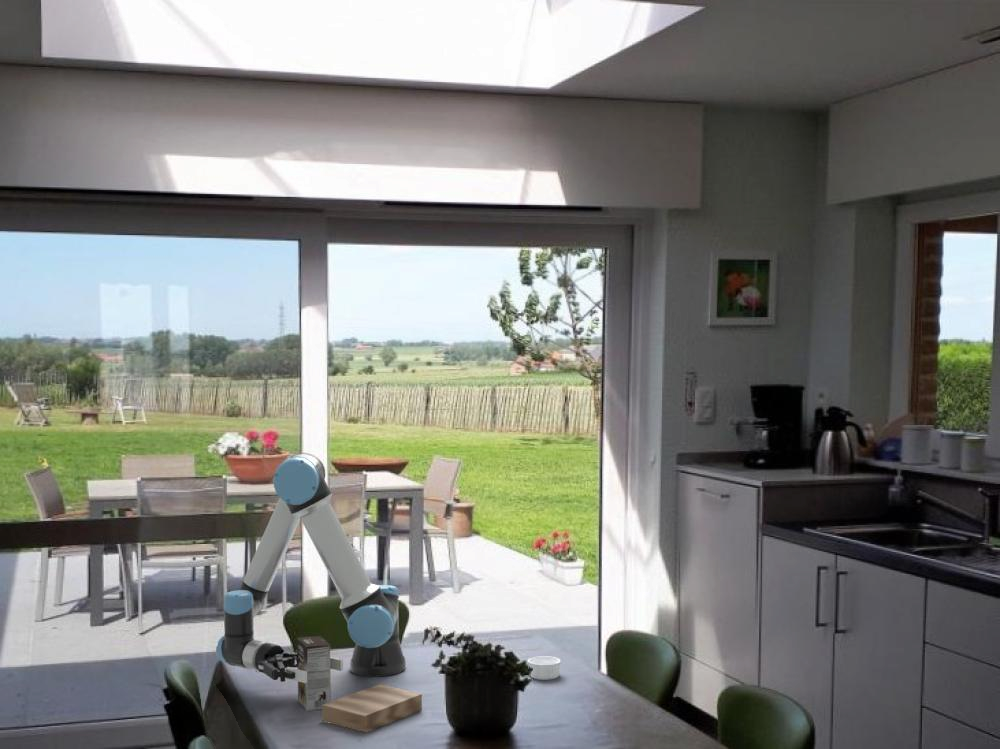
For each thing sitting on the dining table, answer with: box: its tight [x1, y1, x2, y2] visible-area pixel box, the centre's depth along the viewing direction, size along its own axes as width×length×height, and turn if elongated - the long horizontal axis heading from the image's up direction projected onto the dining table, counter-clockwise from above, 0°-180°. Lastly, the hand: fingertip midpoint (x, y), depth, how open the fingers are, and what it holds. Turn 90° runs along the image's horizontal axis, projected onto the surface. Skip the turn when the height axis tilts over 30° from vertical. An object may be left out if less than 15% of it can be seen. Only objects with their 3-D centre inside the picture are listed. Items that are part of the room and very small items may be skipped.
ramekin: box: [527, 655, 562, 681], centre depth 320 cm, size 9×9×4 cm
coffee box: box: [296, 635, 332, 711], centre depth 298 cm, size 9×6×16 cm
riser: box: [321, 683, 423, 733], centre depth 289 cm, size 20×14×4 cm
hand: (324, 671), depth 295 cm, fingers open, 12 cm apart
